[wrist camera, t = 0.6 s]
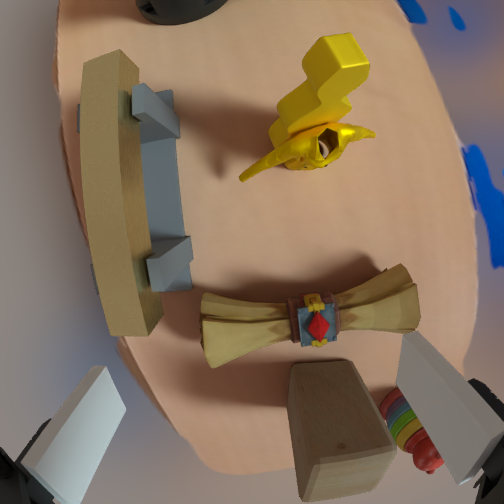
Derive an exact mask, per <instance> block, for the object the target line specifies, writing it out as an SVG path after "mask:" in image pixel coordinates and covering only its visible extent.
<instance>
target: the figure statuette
mask: <svg viewBox="0 0 504 504" xmlns="http://www.w3.org/2000/svg"><path fill="white" fill-rule="evenodd" d="M302 67H303V70H304V72H305V73H306V75H307V77H308V78H307V80H306V81H305V82H304V83H302V84H301V85H300V86H298V87H297V88H296V89H294V90H293V91H292V92H290V93H289V94H288V95H286V96H285V97H284V98H282V99H281V100H280V101H279V102H278V104H277V110H278V112H279V114H280V116H279V118H278V119H277V120H276V121H275V122H274V123H273V124H272V125H271V127H270V128H269V130H268V134H269V137H270V139H271V142H272V144H273V146H274V150H273V151H272V152H270V153H269V154H267V155H266V156H264V157H263V158H261V159H260V160H258V161H257V162H256V163H255V164H253V165H252V166H250V167H249V168H248V169H246V170H245V171H244V172H243V173H242V174H241V175H240V176H239V179H240V181H241V182H244V181H246V180H247V179H249V178H251V177H252V176H254V175H256V174H258V173H259V172H261V171H263V170H266V169H269V168H271V167H274V166H276V165H278V164H281V163H283V162H284V165H285V166H286V167H287V168H288V169H291V170H308V171H309V170H313V169H316V168H323V167H324V166H325V167H326V166H327V165H328V164H329V163H331V162H333V161H335V160H336V159H338V158H339V157H340V156H341V154H342V152H343V151H344V149H345V148H346V146H347V145H348V143H349V142H354V141H358V140H360V139H362V138H375V137H376V134H375V132H373V131H371V130H369V129H367V128H364V127H361V126H355V125H351V124H344V123H337V122H338V121H339V120H340V119H341V118H342V117H344V116H345V115H346V114H347V113H349V112H350V111H351V109H352V106H351V104H350V102H349V100H348V98H347V96H346V95H347V94H349V93H350V92H352V91H353V90H355V89H356V88H357V87H359V86H360V85H361V84H362V83H364V82H365V81H366V79H367V78H368V75H369V69H370V63H369V61H368V60H367V58H366V56H365V55H364V53H363V51H362V50H361V48H360V46H359V45H358V43H357V42H356V40H355V39H354V37H353V35H352V34H351V33H344V34H335V35H331V36H322V37H321V38H319V39H318V40H317V41H316V43H315V44H314V45H313V46H312V47H311V49H310V50H309V51H308V52H307V53H306V55H305V56H304V58H303V60H302ZM319 140H320V141H321V142H322V143H324V144H325V145H326V147H327V148H328V151H329V153H328V155H327V157H326V158H325V159H324V158H323V156H322V155H321V153H320V151H319V143H318V141H319Z"/></svg>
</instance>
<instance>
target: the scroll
mask: <svg viewBox="0 0 504 504" xmlns="http://www.w3.org/2000/svg"><path fill="white" fill-rule="evenodd" d="M420 318H421V315H420V306H419V298H418V291H417V284H415V283H413V281H412V279H411V277H410V275H409V273H408V271H407V269H406V268H405V267H404V266H403V265H402V264H401V263H400V264H398V265H396V266H394V267H392V268H391V269H389V270H387V268H386V269H385V270H384V271H382V272H381V273H380V274H379V275H377V276H376V277H374V278H372V279H370V280H368V281H367V282H365V283H363V284H361V285H359V286H356V287H354V288H351V289H349V290H346V291H344V292H341V293H337V294H334V295H333V294H332V293H331V292H330V291H329V292H325V293H321V294H319V293H318V292H315V293H310V294H301V295H300V297H290V298H287V300H286V302H285V303H258V302H248V301H242V300H237V299H231V298H226V297H223V296H219V295H216V294H212V293H209V292H205V293H203V295H202V299H201V310H200V320H199V323H200V325H202V326H201V328H200V332H201V335H202V337H201V342H200V343H201V346H202V348H203V350H204V355H205V358H206V360H207V362H208V364H209V366H210V367H211V368H217V367H219V366H221V365H223V364H225V363H227V362H229V361H231V360H233V359H235V358H238V357H240V356H242V355H245V354H247V353H249V352H252V351H254V350H256V349H259V348H262V347H265V346H269V345H272V344H275V343H278V342H281V341H286V340H290V339H291V341H292V342H293V343H297V342H301V347H304V346H310V345H312V346H317V347H321V346H323V345H324V344H327V342H331V341H337V336H336V335H337V334H338V333H339V331H344V330H377V331H387V332H395V333H402V334H407V333H410V332H413V331H415V329H414V328H417V326H418V324H419V321H420Z"/></svg>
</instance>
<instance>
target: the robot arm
mask: <svg viewBox="0 0 504 504" xmlns="http://www.w3.org/2000/svg"><path fill="white" fill-rule="evenodd" d="M226 1H227V0H136V4H137V7H138V9H139V10H140V12H141V13H142V15H143V16H144V17H145V18H146V19H147V20H149V21H151V22H154V23H157V24H163V25H176V24H183V23H188V22H192V21H195V20H198V19H201V18H203V17H205V16H207V15H209V14H211V13H213V12H215V11H216V10H217V9H219V8H220V7H221V6H222V5H224V4H225V3H226ZM396 384H397V386H398V388H399V389H400V391H401V392H402V394H403V395H404V397H405V398H406V400H407V402H408V403H409V405H410V406H411V408H412V409H413V411H414V413H415V414H416V416H417V417H418V419H419V421H420V422H421V424H422V425H423V427H424V429H425V430H426V432H427V434H428V435H429V437H430V439H431V440H432V442H433V444H434V445H435V447H436V449H437V450H438V452H439V454H440V455H441V457H442V459H443V461H444V462H445V464H446V466H447V468H448V469H449V471H450V473H451V474H452V476H453V478H454V480H455V482H456V484H457V485H458V486H459V485H461V484H463V483H464V482H466V481H468V480H469V479H471V478H473V477H474V476H475V475H476V474H477V473H478V471H479V470H480V469H481V467H482V469H483V470H484V473H483V475H482V476H481V477H480V479H478V481H477V482H476V483H475V485H474V487H473V488H476V487H477V486H478V485H479V484H480V486H479V490H478V494H477V497H476V501H475V504H504V404H503V403H502V402H501V401H500V400H499V399H497V396H496V395H495V394H493V393H491V390H490V389H489V388H488V387H487V386H486V385H485V384H484V383H482V382H480V381H478V380H476V379H474V378H473V379H471V380H469V381H466V380H465V379H464V377H463V376H462V375H461V374H460V373H459V372H458V371H457V370H456V369H455V368H454V367H453V366H452V365H451V364H450V363H449V362H448V361H447V360H446V359H445V358H444V357H443V356H442V355H441V354H440V353H439V352H438V351H437V350H436V349H435V348H434V347H433V346H432V345H431V344H430V343H429V342H428V341H427V340H426V339H425V338H424V337H423V336H422V335H421V334H420V333H419V332H418V331H415V332H411V333H407V334H404V335H403V338H402V346H401V354H400V360H399V367H398V373H397V378H396ZM125 411H126V408H125V406H124V404H123V402H122V400H121V398H120V396H119V394H118V392H117V389H116V388H115V385H114V383H113V381H112V379H111V377H110V374H109V372H108V370H107V367H106V366H93V367H92V368H91V369H90V370H89V372H88V373H87V374H86V375H85V377H84V378H83V379H82V380H81V382H80V383H79V384H78V385H77V387H76V388H75V389H74V391H73V392H72V393H71V394H70V396H69V397H68V398H67V400H66V401H65V402H64V403H63V405H62V406H61V407H60V409H59V410H58V411H57V413H56V414H55V415H54V417H53V418H52V419H49V420H47V421H46V422H45V423H43V424H42V425H41V427H40V428H39V429H38V431H37V432H36V434H35V435H34V436H33V437H32V440H30V441H29V443H28V444H27V446H26V447H25V448H24V450H23V451H22V453H21V454H20V455H19V457H18V458H17V460H16V461H15V462H13V461H12V460H11V458H10V457H9V456H8V455H7V454H6V452H5V451H4V450H3V449H2V448H1V447H0V504H55V503H54V502H53V501H52V500H53V498H54V497H55V498H56V499H57V500H58V501H59V502H61V503H62V504H80V503H81V501H82V499H83V497H84V495H85V492H86V490H87V488H88V486H89V484H90V482H91V480H92V478H93V475H94V473H95V471H96V469H97V467H98V465H99V463H100V461H101V459H102V457H103V455H104V453H105V451H106V449H107V446H108V445H109V442H110V441H111V439H112V437H113V435H114V433H115V431H116V429H117V427H118V425H119V423H120V421H121V419H122V417H123V415H124V413H125Z"/></svg>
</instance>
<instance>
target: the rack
mask: <svg viewBox="0 0 504 504" xmlns="http://www.w3.org/2000/svg"><path fill="white" fill-rule="evenodd" d="M132 115H133V116H135V117H136V118H138V119H140V142H141V158H142V171H143V182H144V192H145V202H146V210H147V218H148V226H149V233H150V240H151V247H152V253H153V255H152V256H151V257H149V258H148V259H146V260H147V266H148V272H149V277H150V283H151V288H152V292H156V291H159V292H170V291H185V290H192V288H193V286H192V279H191V273H190V266H189V263H190V262H191V261H192V260H193V251H192V244H191V237H190V236H187V237H185V230H184V222H183V214H182V205H181V196H180V187H179V177H178V166H177V154H176V141H175V139H178V138H180V124H179V116H178V115H177V114H176V113H175V112H174V108H173V91H172V90H171V89H170V90H165V91H161V92H156V93H154V92H153V91H152V90H151V89H150V88H149V87H148V86H147V85H146V84H145V83H142V84H138V85H135V86H132ZM77 132H79V133H80V104H78V112H77ZM90 266H91V270H92V275H93V280H94V284H95V289H96V293H97V295H98V294H99V290H98V285H97V281H96V276H95V272H94V267H93V264H91V265H90Z"/></svg>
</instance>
